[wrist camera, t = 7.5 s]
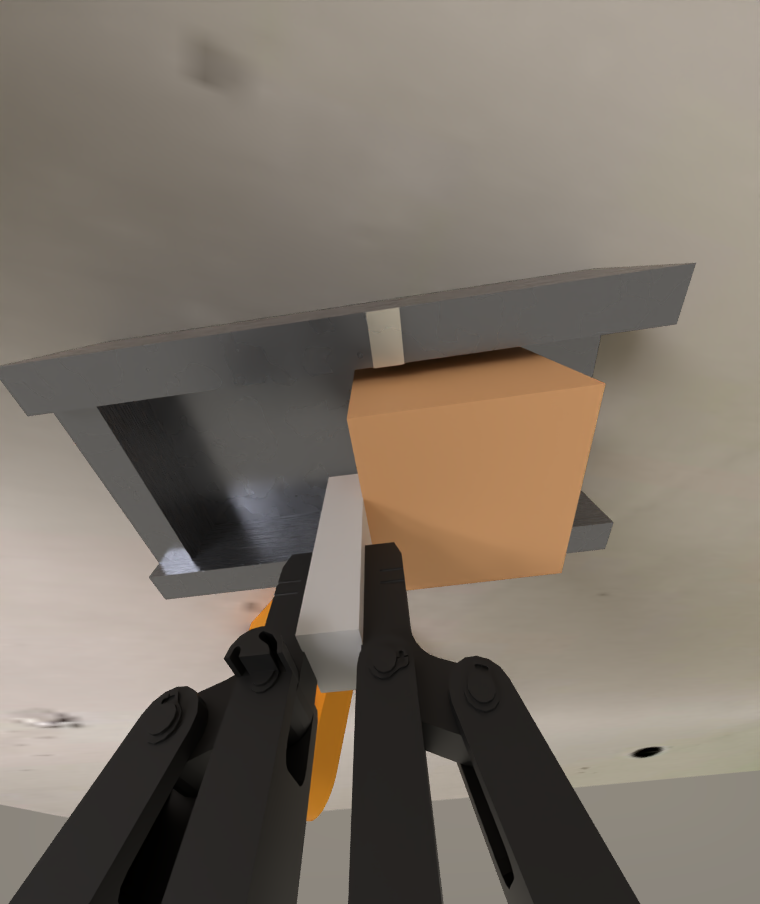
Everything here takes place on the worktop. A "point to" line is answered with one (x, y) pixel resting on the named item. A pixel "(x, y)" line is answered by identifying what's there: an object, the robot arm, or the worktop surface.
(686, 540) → the worktop surface
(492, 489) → the slider block
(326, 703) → the bracket
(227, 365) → the chute
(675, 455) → the worktop surface
